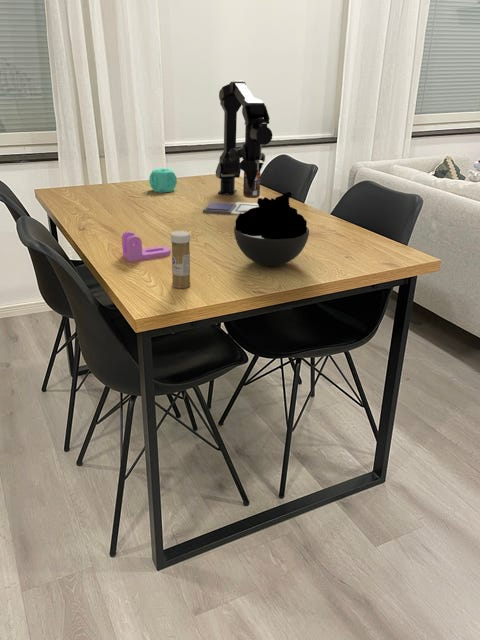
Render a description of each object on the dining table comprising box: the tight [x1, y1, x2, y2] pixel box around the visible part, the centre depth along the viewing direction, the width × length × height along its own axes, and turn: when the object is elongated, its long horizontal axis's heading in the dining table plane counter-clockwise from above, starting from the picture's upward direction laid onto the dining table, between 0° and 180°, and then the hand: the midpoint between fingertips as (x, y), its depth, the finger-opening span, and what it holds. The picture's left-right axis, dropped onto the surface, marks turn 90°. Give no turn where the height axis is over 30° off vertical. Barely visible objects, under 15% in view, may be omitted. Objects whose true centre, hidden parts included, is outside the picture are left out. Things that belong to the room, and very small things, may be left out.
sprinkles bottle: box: [170, 230, 191, 289], centre depth 140 cm, size 5×5×13 cm
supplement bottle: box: [242, 171, 261, 199], centre depth 207 cm, size 6×6×11 cm
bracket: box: [121, 230, 172, 262], centre depth 162 cm, size 13×6×7 cm, turn 119°
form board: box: [230, 201, 259, 216], centre depth 211 cm, size 16×14×1 cm
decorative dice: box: [148, 168, 178, 193], centre depth 235 cm, size 8×8×8 cm
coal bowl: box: [233, 191, 310, 267], centre depth 155 cm, size 20×20×19 cm
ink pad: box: [202, 201, 237, 215], centre depth 210 cm, size 11×10×1 cm
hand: (251, 185), depth 208 cm, fingers closed on supplement bottle, 6 cm apart
